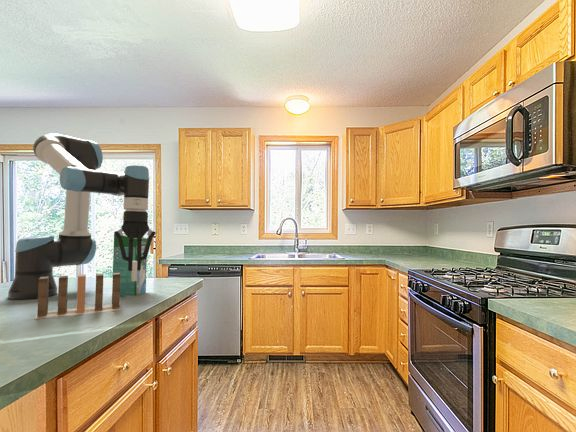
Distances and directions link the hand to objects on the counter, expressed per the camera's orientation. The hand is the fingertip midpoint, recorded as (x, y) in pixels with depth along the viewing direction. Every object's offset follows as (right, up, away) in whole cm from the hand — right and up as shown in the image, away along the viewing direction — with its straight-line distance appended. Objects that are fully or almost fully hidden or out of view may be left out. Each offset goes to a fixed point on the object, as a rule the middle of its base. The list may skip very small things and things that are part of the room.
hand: (134, 280), depth 109 cm
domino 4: (-5, -8, -3) cm, 10 cm away
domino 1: (-21, -8, -13) cm, 26 cm away
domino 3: (-9, -8, -6) cm, 13 cm away
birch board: (-13, -9, -8) cm, 18 cm away
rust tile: (-13, -8, -8) cm, 17 cm away
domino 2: (-17, -8, -10) cm, 21 cm away
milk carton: (-11, -10, +19) cm, 24 cm away
